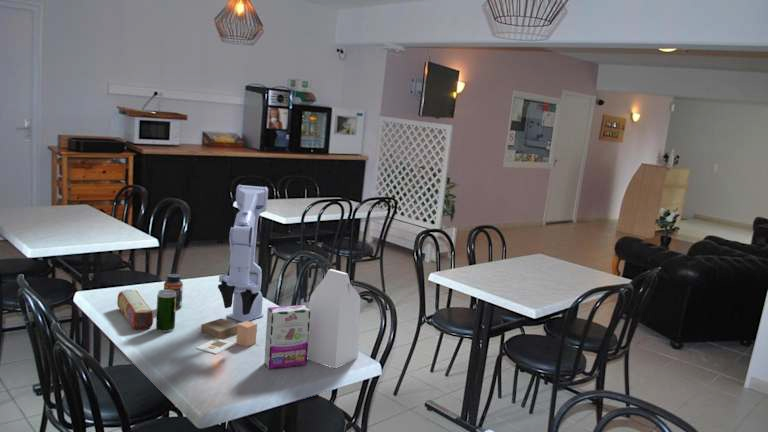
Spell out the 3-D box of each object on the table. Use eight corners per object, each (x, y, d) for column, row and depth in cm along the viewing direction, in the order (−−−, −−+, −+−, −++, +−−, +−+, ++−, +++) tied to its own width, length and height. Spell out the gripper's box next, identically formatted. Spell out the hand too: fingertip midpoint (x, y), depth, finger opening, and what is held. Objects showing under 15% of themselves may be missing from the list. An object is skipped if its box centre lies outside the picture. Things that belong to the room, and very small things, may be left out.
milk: (301, 356, 176) (309, 270, 172) (325, 345, 186) (333, 263, 181) (335, 369, 170) (343, 280, 166) (358, 357, 180) (366, 272, 175)
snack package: (154, 329, 185) (155, 308, 184) (131, 332, 181) (131, 310, 180) (137, 307, 202) (138, 287, 201) (116, 309, 198) (117, 289, 197)
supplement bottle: (185, 308, 205) (187, 275, 203) (170, 312, 200) (172, 279, 198) (173, 303, 208) (175, 271, 206) (159, 307, 203) (160, 274, 201)
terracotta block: (245, 339, 184) (247, 320, 183) (255, 343, 182) (256, 324, 181) (236, 343, 181) (237, 323, 180) (246, 346, 179) (247, 327, 178)
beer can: (158, 333, 182) (159, 295, 180) (154, 327, 186) (155, 289, 184) (176, 331, 185) (178, 293, 183) (172, 325, 189) (173, 288, 187)
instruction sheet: (216, 338, 182) (216, 337, 182) (235, 344, 180) (235, 343, 180) (196, 348, 174) (196, 347, 174) (216, 354, 172) (216, 353, 172)
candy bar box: (300, 358, 175) (305, 304, 172) (307, 365, 170) (311, 310, 168) (262, 362, 170) (267, 306, 167) (268, 370, 165) (272, 312, 162)
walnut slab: (220, 327, 193) (221, 318, 192) (238, 334, 189) (239, 325, 188) (201, 333, 186) (201, 324, 186) (219, 341, 182) (220, 331, 182)
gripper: (212, 262, 178) (209, 307, 180) (247, 274, 170) (244, 320, 172) (230, 259, 184) (227, 302, 186) (265, 270, 176) (262, 314, 178)
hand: (236, 310), depth 180 cm, fingers open, 7 cm apart
